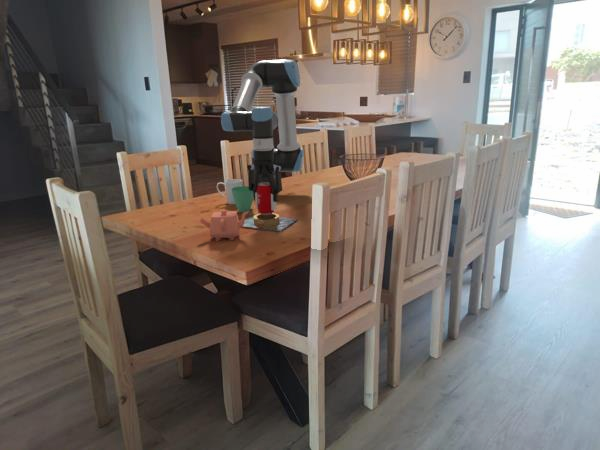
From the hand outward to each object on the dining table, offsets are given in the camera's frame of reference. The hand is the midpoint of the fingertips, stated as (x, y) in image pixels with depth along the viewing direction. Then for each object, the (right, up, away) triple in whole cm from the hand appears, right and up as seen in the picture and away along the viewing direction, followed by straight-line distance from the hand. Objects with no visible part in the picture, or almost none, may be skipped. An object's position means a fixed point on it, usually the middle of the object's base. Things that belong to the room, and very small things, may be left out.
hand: (266, 208), depth 172 cm
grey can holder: (0, -6, +2) cm, 6 cm away
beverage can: (0, -2, +1) cm, 2 cm away
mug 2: (-11, 0, +23) cm, 26 cm away
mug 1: (-19, +4, +35) cm, 41 cm away
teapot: (-13, -11, -13) cm, 22 cm away
